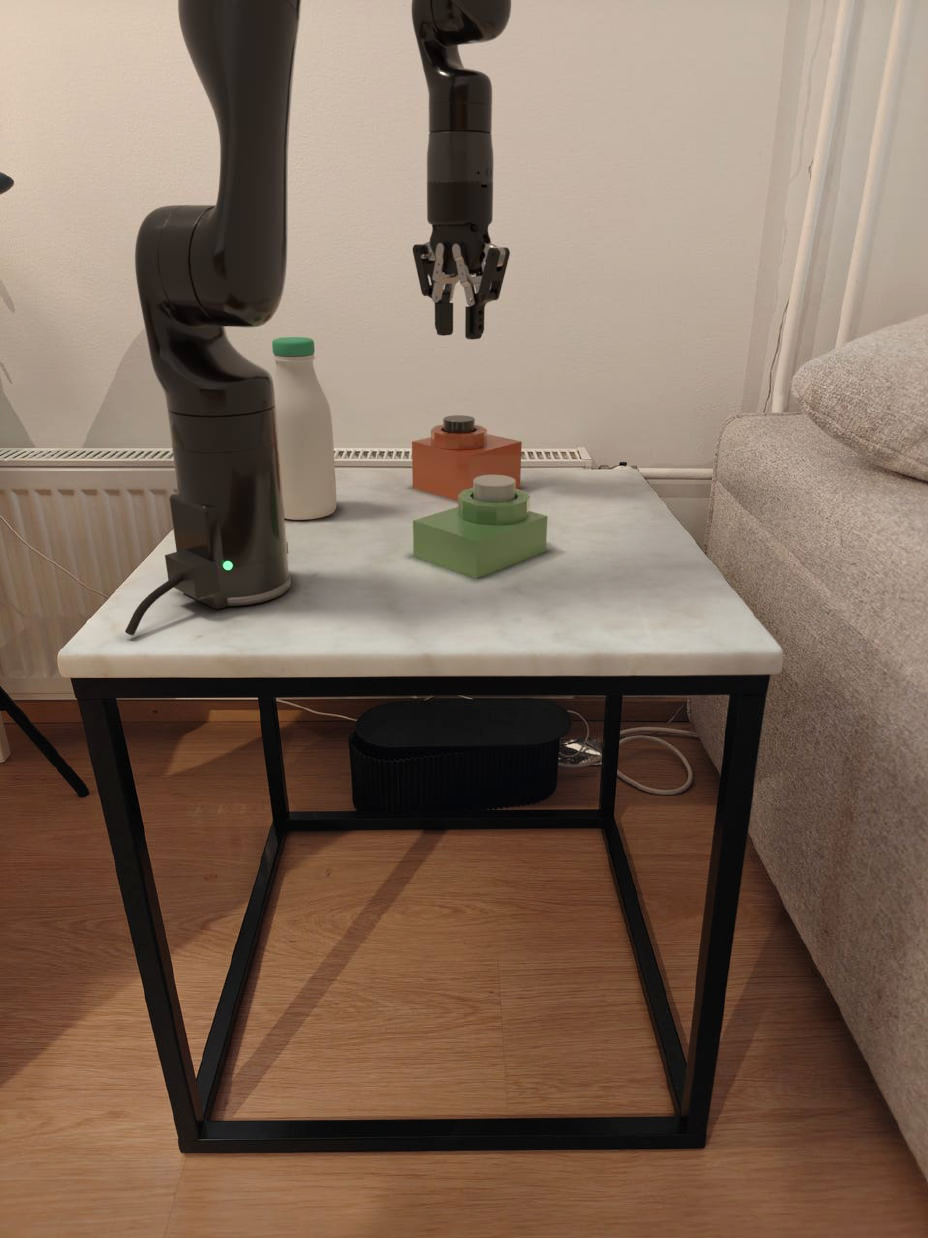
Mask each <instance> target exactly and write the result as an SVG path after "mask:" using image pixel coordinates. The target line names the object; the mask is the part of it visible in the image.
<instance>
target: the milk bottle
mask: <svg viewBox="0 0 928 1238" xmlns="http://www.w3.org/2000/svg"><path fill="white" fill-rule="evenodd" d="M271 346H272V347H271V348H272V354H273V358H272V359H273V361H275V372H274V378H273V383H274V392H275V405H276V418H277V430H278V444H279V456H280V469H281V481H282V493H283V505H284V518H285V519H287V520H294V521H295V520H297V521H302V520H316V519H322V518H324V517H328V516H330V515H332V514H334V512H335V511H336V509H337V485H336V484H337V483H336V466H335V463H336V462H335V448H334V431H333V420H332V414H331V412H332V411H331V408H330V404H329V401H328V398H327V396H326V394H325V392H324V390H323V388H322V385H321V384H320V381H319V379H318V377H317V374H316V371H315V368H314V367H315V366H314V360H315V359H316V357H315V341H314V339H312V338H310V337H303V336H286V337H277V338H275V339H272V343H271Z"/></svg>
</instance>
